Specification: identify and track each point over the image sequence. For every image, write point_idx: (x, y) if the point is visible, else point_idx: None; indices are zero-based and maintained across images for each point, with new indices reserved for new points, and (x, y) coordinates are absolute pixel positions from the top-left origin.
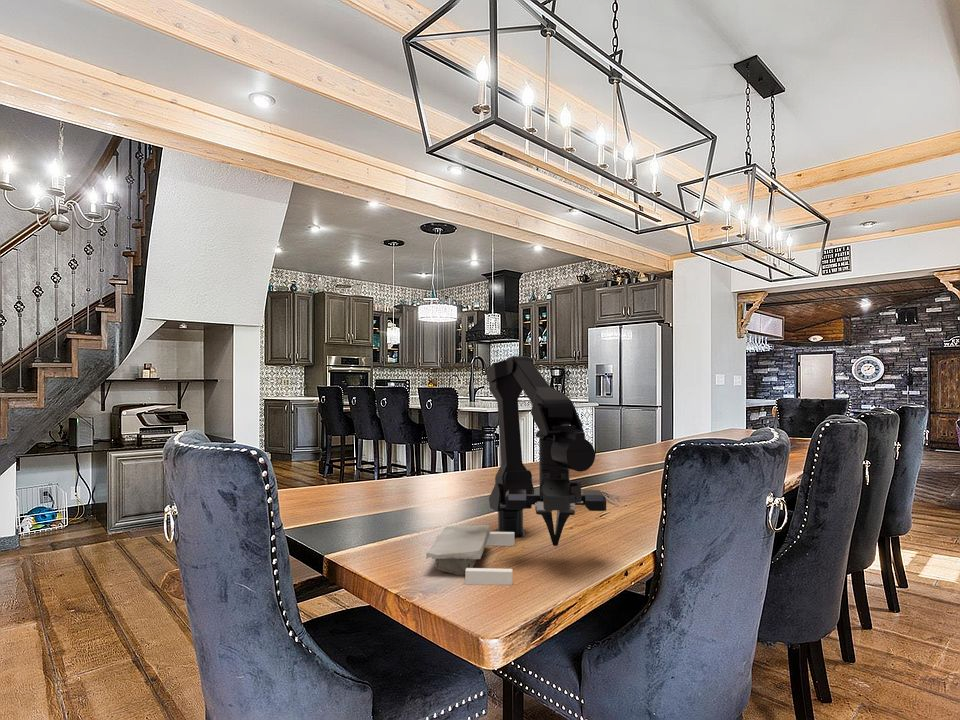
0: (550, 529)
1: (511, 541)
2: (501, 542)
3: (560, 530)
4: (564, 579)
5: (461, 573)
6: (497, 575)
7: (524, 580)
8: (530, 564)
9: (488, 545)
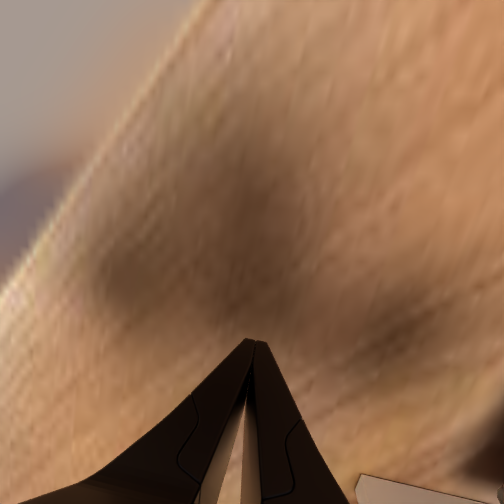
0: (284, 415)
1: (377, 495)
2: (412, 499)
3: (206, 393)
4: (264, 131)
5: None
6: None
7: (447, 130)
8: (357, 311)
9: (453, 496)
